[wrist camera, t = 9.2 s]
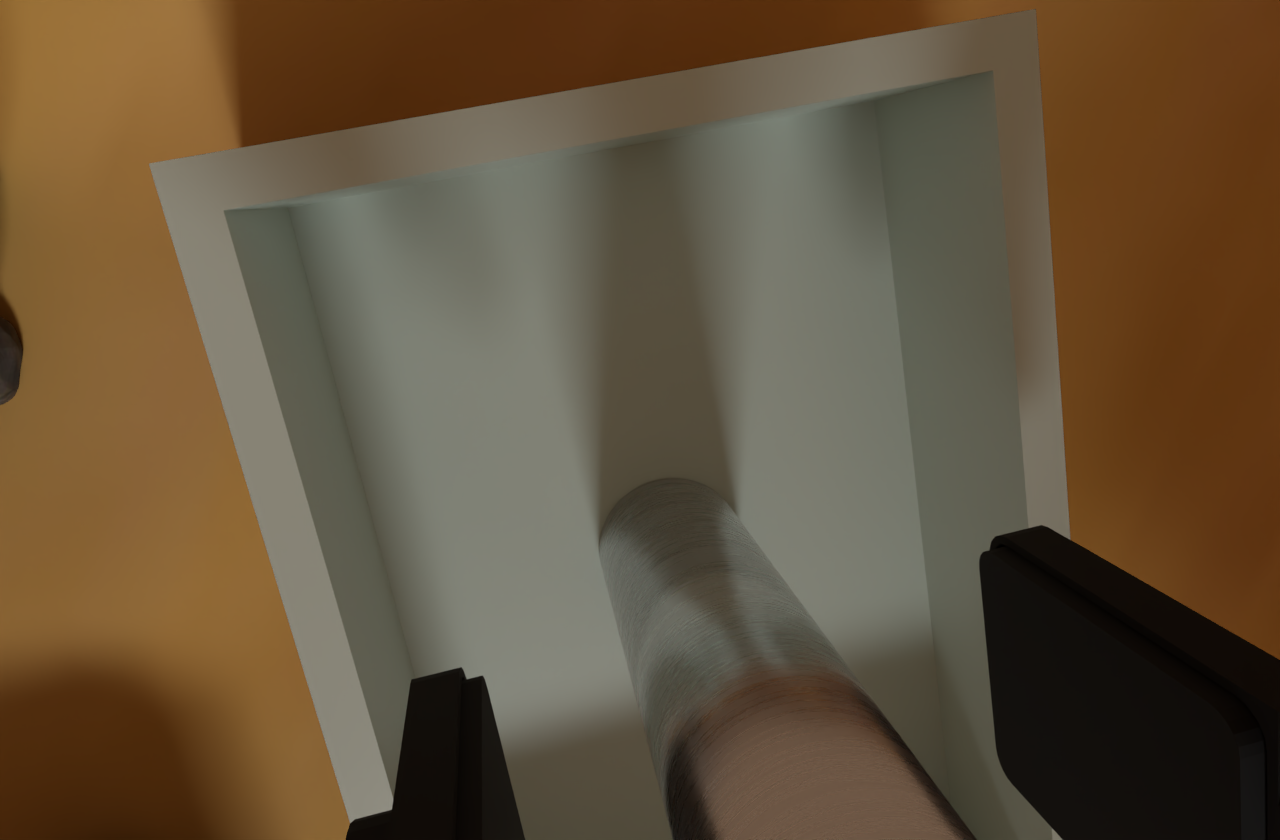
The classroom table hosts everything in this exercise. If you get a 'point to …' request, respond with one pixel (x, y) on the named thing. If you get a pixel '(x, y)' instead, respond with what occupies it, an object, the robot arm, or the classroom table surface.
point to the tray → (644, 388)
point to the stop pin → (750, 688)
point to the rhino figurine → (9, 361)
